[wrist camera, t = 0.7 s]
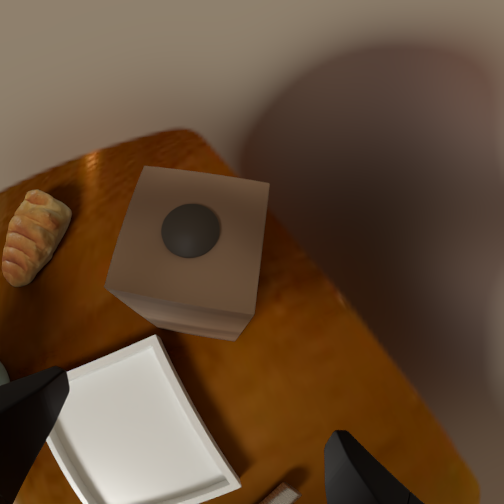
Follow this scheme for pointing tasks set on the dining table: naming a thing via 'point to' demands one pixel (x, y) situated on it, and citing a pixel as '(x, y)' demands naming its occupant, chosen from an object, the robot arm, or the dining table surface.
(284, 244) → the dining table surface
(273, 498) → the flashlight
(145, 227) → the block
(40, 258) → the pastry
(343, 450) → the robot arm
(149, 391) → the tray
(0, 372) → the cup
